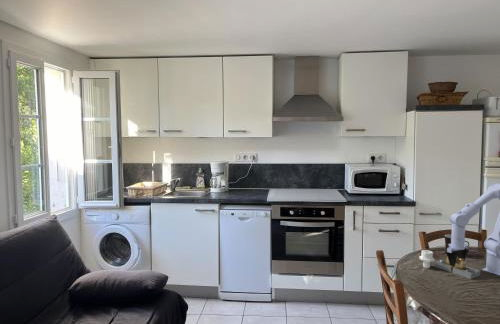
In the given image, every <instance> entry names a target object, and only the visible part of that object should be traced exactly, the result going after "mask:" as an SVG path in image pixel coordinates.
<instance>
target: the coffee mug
mask: <svg viewBox="0 0 500 324" xmlns="http://www.w3.org/2000/svg"><path fill="white" fill-rule="evenodd" d="M464 243H466V244H467V248H468V247H469V246H470V242H469V241H467V240H465V242H464ZM444 244H445V245H444V246H445V251H446V250H447V248H449V244H451V234H449V233H448V234H445V235H444ZM455 253H457V251H455Z"/></svg>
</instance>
